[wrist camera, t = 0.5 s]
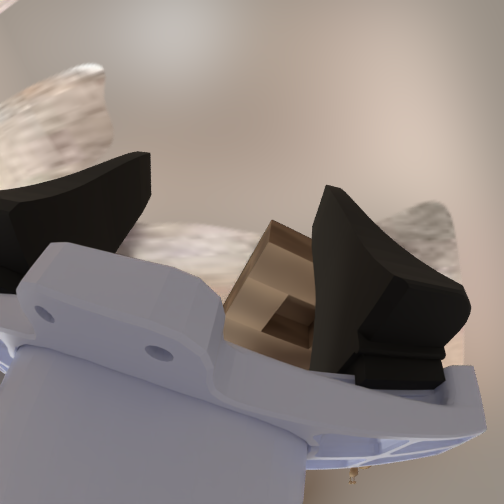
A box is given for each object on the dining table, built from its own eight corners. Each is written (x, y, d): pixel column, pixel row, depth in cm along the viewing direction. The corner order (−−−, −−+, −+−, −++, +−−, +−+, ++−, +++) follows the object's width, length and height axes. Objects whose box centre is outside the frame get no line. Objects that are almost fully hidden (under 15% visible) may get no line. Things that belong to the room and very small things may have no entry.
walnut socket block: (317, 351, 31) (318, 376, 28) (218, 313, 30) (211, 338, 27) (387, 277, 25) (396, 303, 22) (271, 219, 23) (268, 241, 20)
